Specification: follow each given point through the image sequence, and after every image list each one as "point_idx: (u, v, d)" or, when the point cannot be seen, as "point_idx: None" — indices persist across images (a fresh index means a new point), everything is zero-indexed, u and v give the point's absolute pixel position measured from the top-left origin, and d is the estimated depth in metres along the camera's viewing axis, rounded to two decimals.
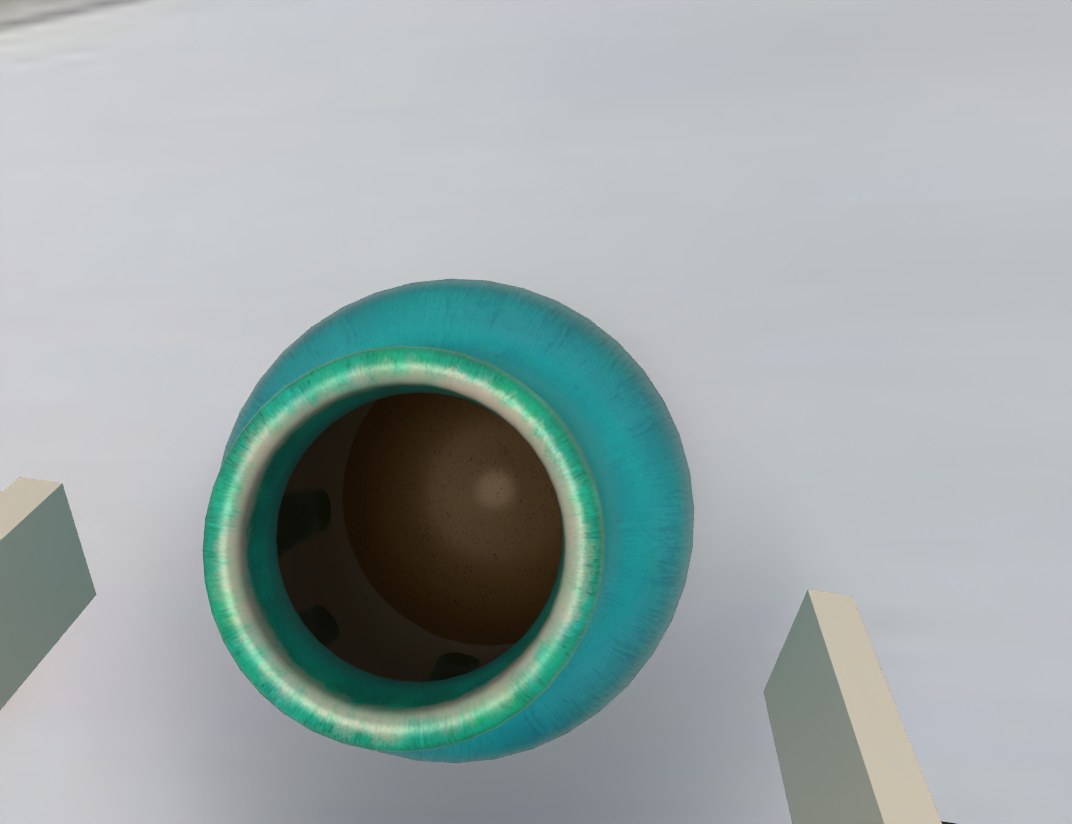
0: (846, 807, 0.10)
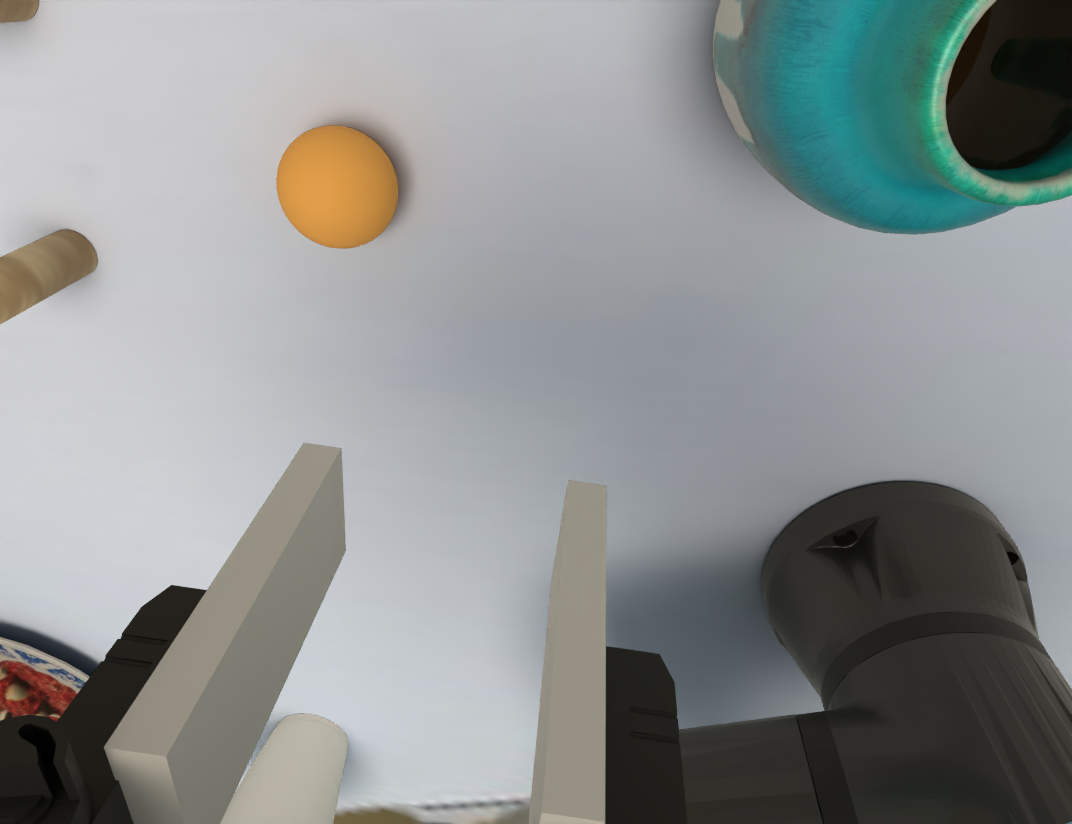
0: (551, 640, 0.12)
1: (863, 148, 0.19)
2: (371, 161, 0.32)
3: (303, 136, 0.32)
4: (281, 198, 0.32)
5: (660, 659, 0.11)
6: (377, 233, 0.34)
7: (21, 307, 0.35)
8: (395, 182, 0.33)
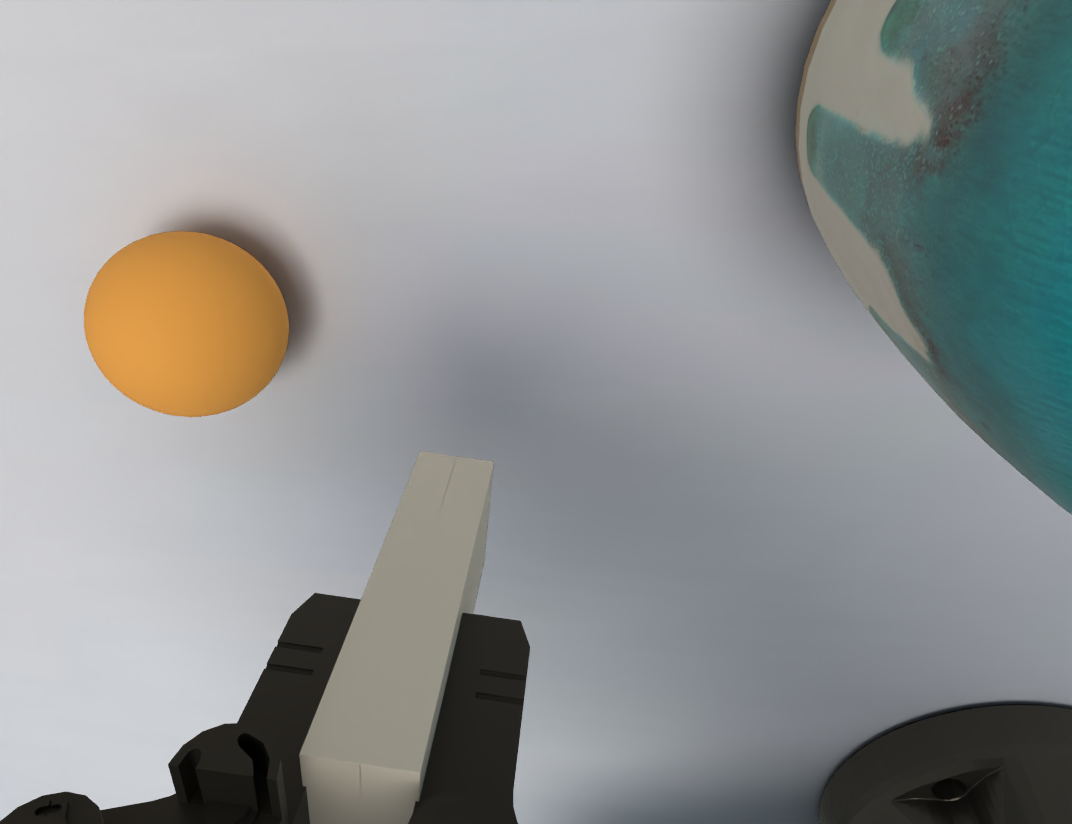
0: None
1: None
2: (231, 293, 0.20)
3: (121, 253, 0.20)
4: None
5: (521, 626, 0.12)
6: (252, 394, 0.22)
7: None
8: (279, 318, 0.21)
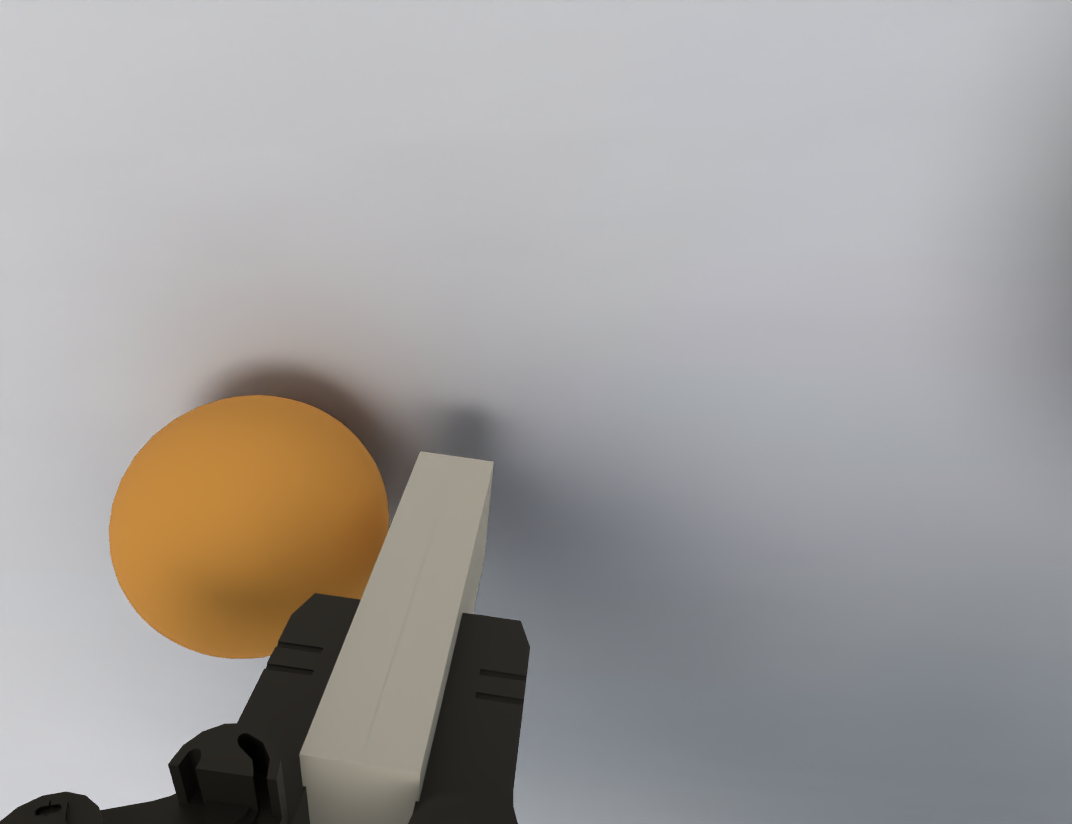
0: None
1: None
2: (320, 500, 0.13)
3: (161, 446, 0.13)
4: (118, 580, 0.14)
5: (521, 626, 0.12)
6: None
7: None
8: (381, 513, 0.15)
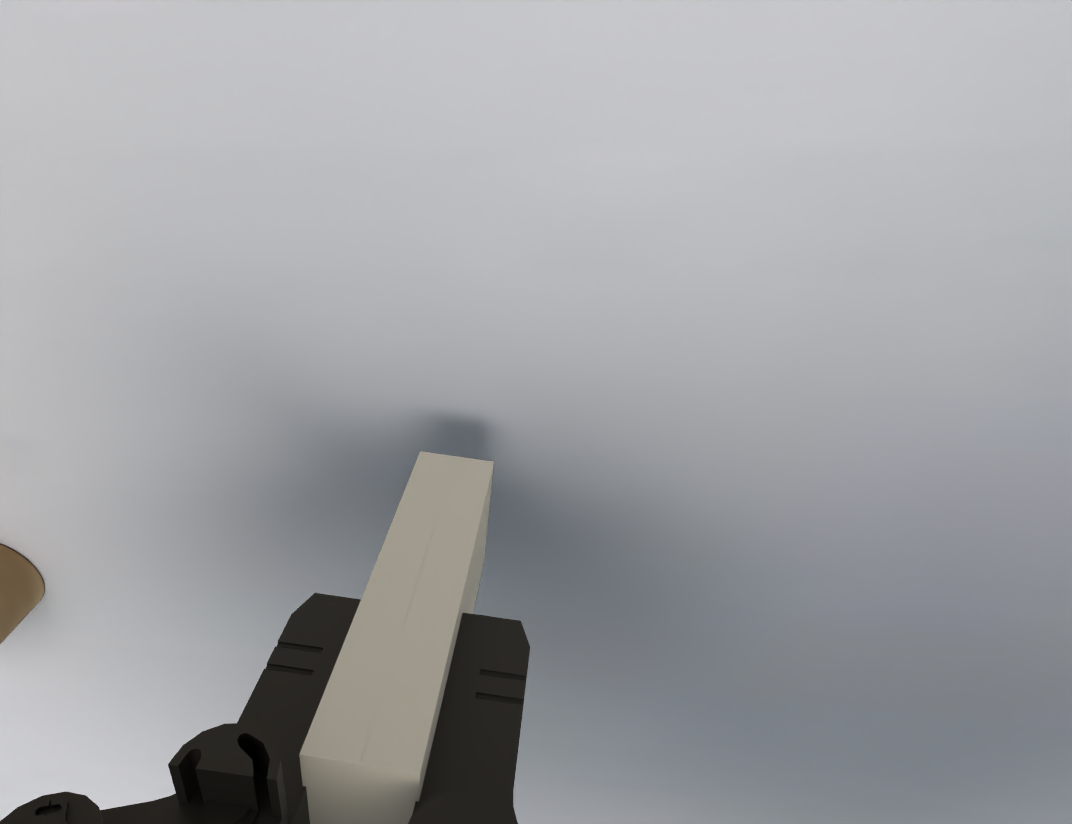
0: None
1: None
2: None
3: None
4: None
5: (521, 626, 0.12)
6: None
7: None
8: None
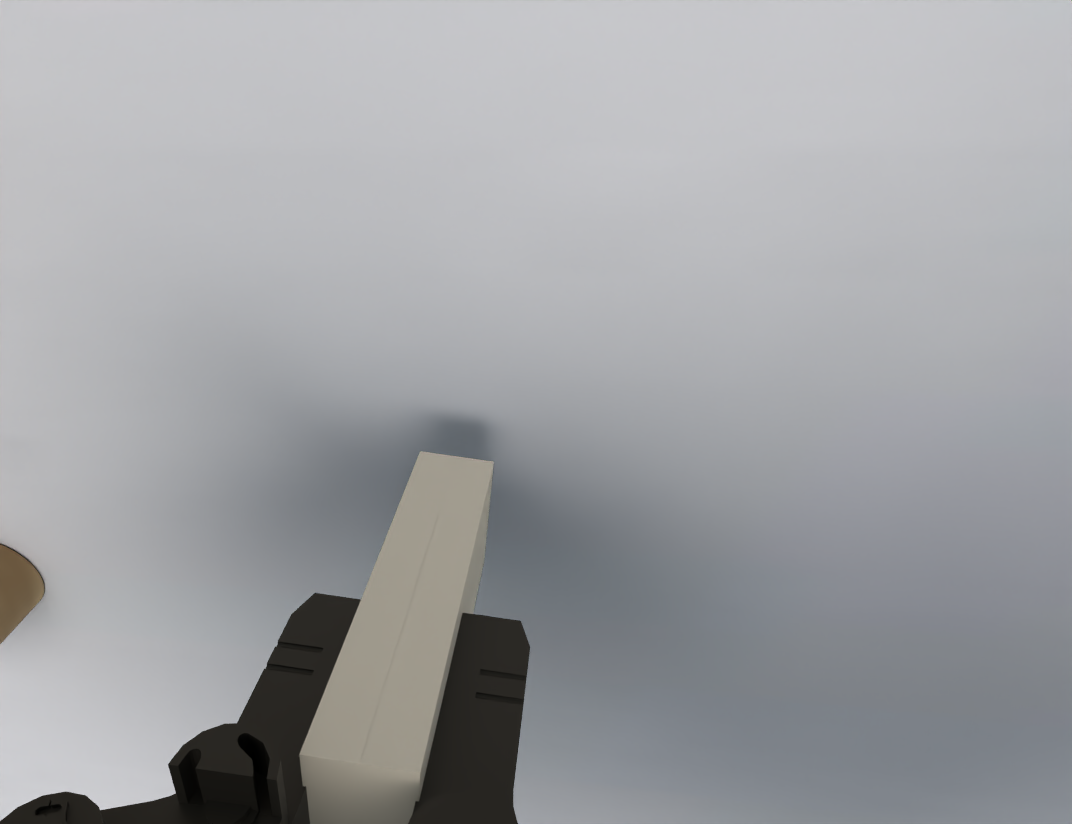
0: None
1: None
2: None
3: None
4: None
5: (521, 626, 0.12)
6: None
7: None
8: None
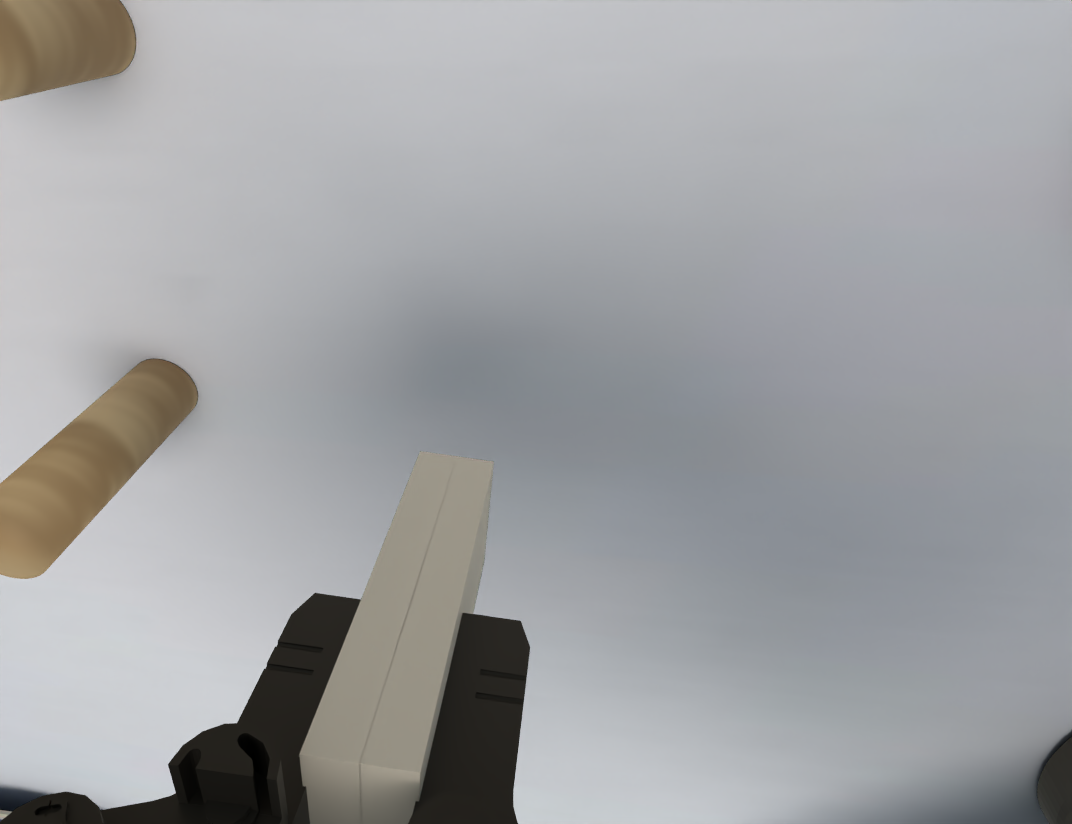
0: None
1: None
2: None
3: None
4: None
5: (521, 626, 0.12)
6: None
7: (109, 499, 0.23)
8: None
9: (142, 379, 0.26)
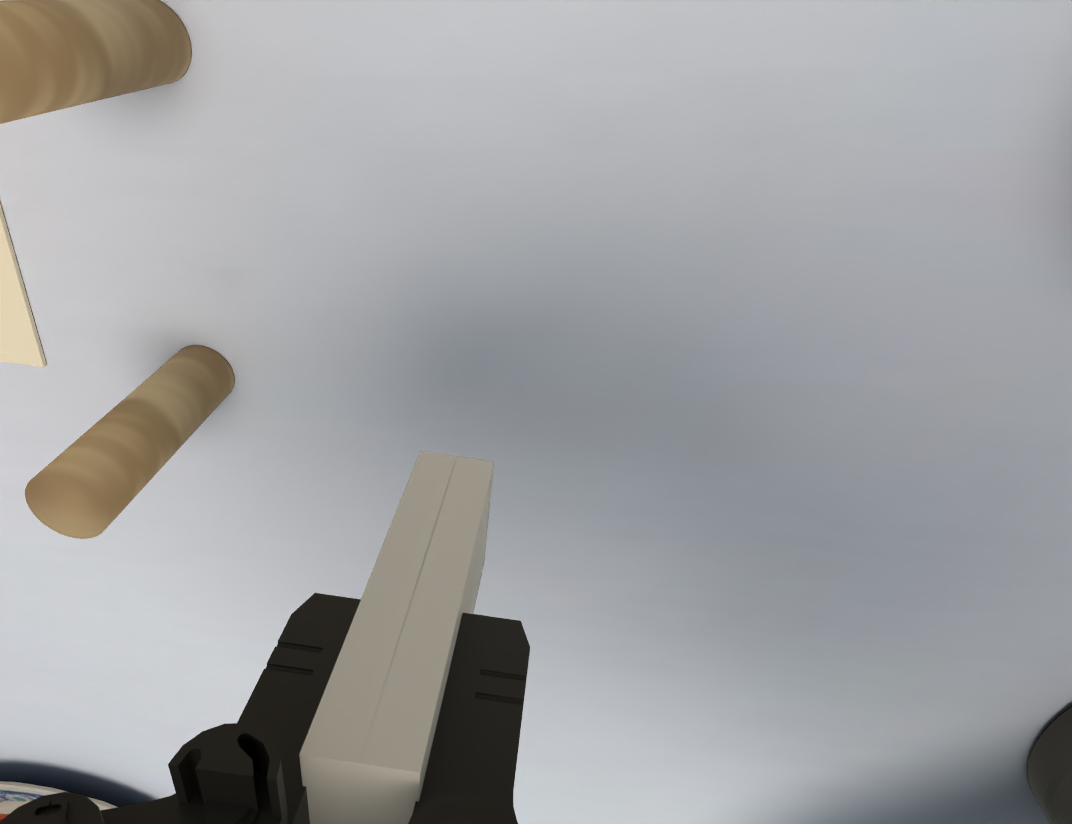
0: None
1: None
2: None
3: None
4: None
5: (521, 626, 0.12)
6: None
7: (157, 470, 0.25)
8: None
9: (185, 363, 0.28)
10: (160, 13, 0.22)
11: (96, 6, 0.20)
